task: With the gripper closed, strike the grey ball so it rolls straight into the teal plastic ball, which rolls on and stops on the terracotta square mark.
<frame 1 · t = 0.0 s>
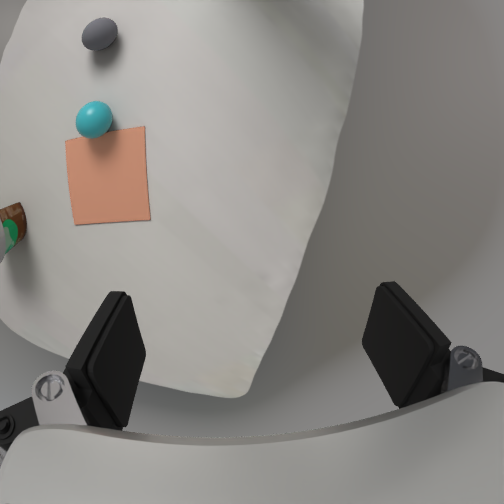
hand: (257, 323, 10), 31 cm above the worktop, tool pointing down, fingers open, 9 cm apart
object ball: (93, 119, 30), on the worktop
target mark: (104, 178, 36), on the worktop
grey ball: (99, 34, 24), on the worktop
food container: (19, 229, 37), on the worktop
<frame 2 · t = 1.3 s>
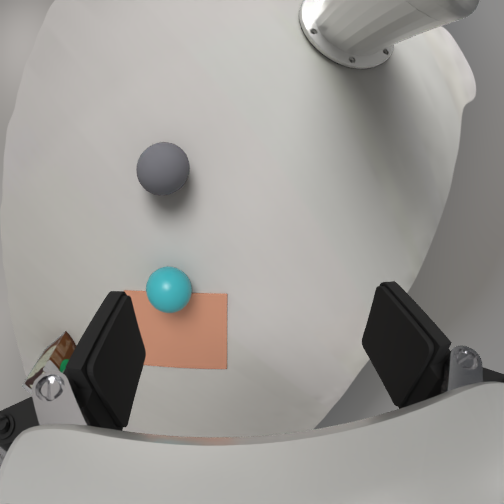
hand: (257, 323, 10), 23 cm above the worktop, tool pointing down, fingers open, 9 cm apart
object ball: (168, 289, 31), on the worktop
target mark: (178, 333, 37), on the worktop
grey ball: (162, 168, 26), on the worktop
food container: (67, 351, 38), on the worktop
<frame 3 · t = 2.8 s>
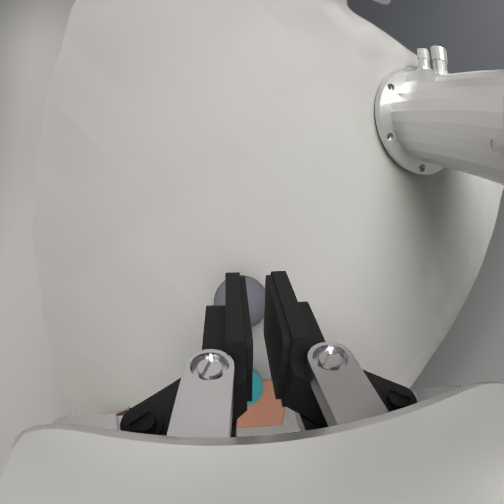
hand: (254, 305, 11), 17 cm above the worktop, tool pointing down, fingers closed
object ball: (242, 387, 33), on the worktop
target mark: (242, 406, 39), on the worktop
grey ball: (241, 302, 28), on the worktop
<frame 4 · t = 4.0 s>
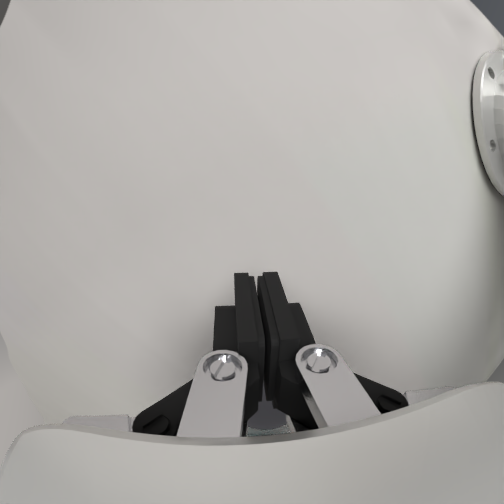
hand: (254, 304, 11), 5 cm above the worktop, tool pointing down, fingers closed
grey ball: (265, 391, 17), on the worktop
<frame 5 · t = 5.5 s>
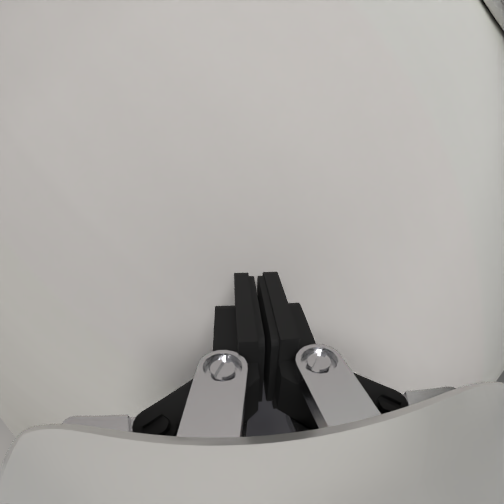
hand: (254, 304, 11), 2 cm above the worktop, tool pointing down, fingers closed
grey ball: (245, 409, 12), on the worktop
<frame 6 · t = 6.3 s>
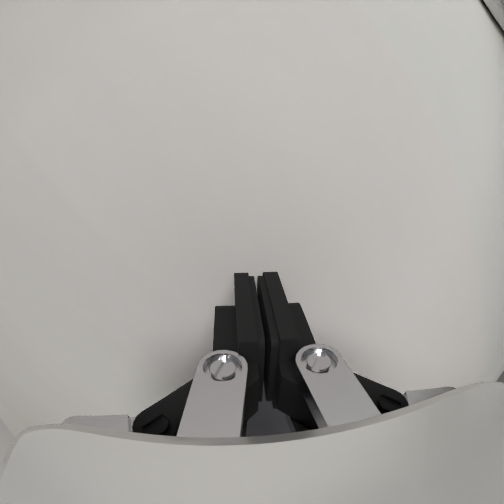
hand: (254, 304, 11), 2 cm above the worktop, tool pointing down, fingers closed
grey ball: (245, 409, 12), on the worktop
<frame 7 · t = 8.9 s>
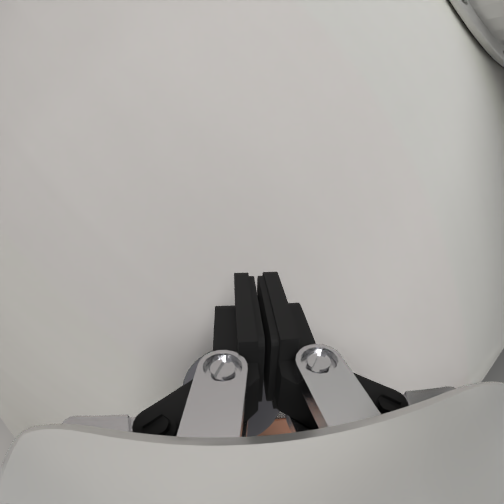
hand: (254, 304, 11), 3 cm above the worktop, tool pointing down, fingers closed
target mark: (242, 455, 22), on the worktop
grey ball: (232, 394, 14), on the worktop
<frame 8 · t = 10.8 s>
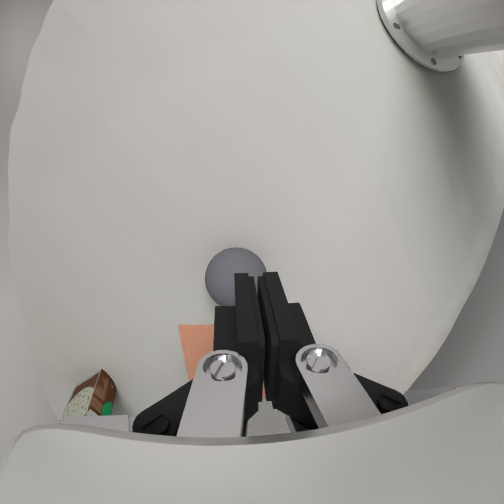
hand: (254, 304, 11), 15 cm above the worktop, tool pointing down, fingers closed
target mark: (242, 366, 33), on the worktop
grey ball: (236, 278, 24), on the worktop
food container: (102, 388, 34), on the worktop
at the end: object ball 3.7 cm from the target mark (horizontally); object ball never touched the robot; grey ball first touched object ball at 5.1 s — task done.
